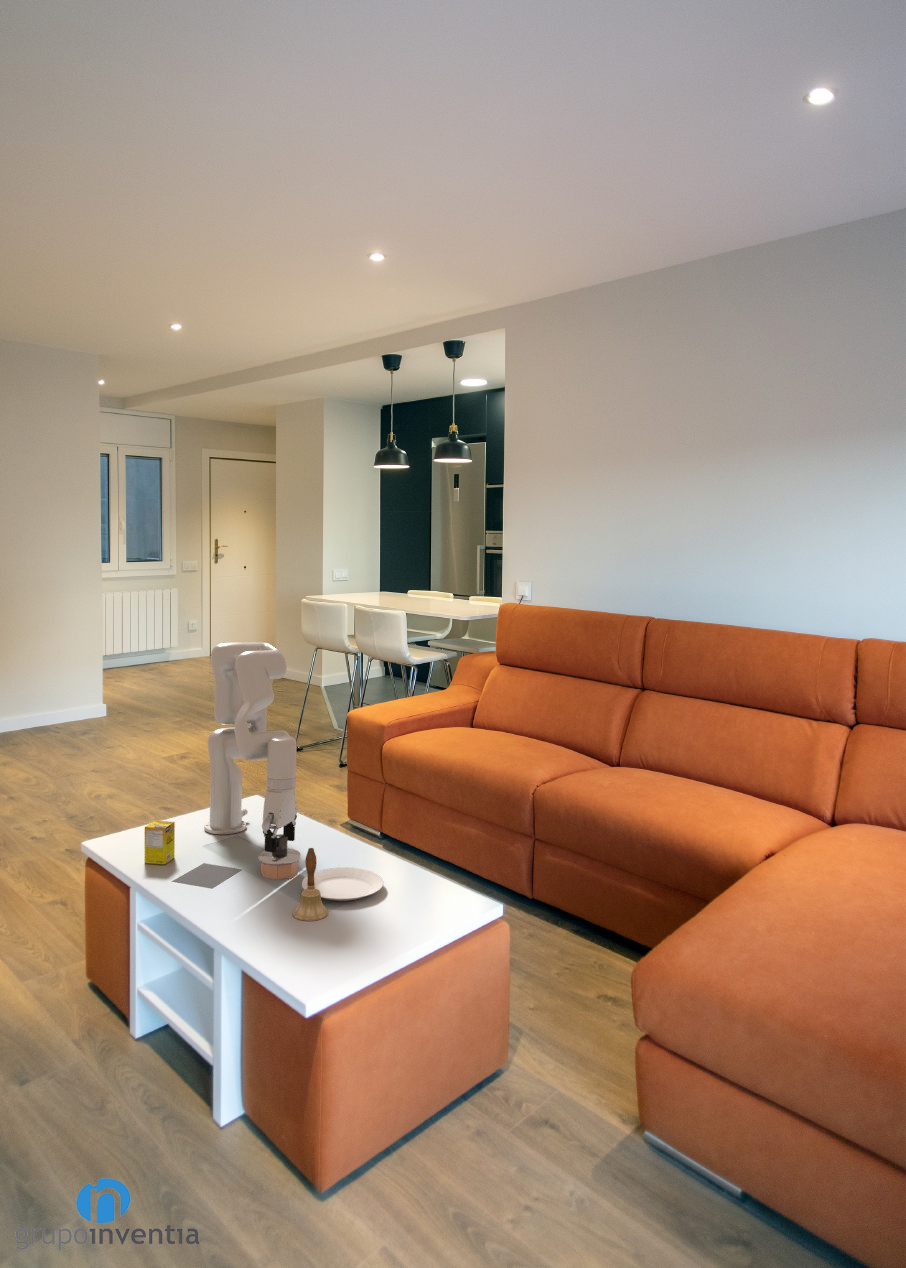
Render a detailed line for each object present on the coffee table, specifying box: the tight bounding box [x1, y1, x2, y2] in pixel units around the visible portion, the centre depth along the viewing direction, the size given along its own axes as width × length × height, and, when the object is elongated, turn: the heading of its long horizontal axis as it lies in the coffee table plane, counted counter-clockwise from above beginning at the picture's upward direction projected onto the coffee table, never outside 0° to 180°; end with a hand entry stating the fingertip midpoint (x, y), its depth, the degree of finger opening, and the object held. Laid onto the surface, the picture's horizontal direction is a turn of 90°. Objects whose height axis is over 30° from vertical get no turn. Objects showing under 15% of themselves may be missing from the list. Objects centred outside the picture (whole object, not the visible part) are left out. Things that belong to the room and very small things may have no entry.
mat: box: [171, 862, 243, 889], centre depth 211 cm, size 14×12×1 cm
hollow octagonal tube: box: [260, 860, 299, 880], centre depth 215 cm, size 9×9×4 cm
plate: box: [301, 866, 385, 902], centre depth 206 cm, size 21×21×2 cm
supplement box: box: [144, 820, 176, 866], centre depth 219 cm, size 6×6×11 cm
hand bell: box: [292, 847, 329, 922], centre depth 191 cm, size 8×8×16 cm
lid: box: [257, 833, 301, 865], centre depth 214 cm, size 11×11×6 cm
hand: (279, 845), depth 214 cm, fingers open, 9 cm apart
